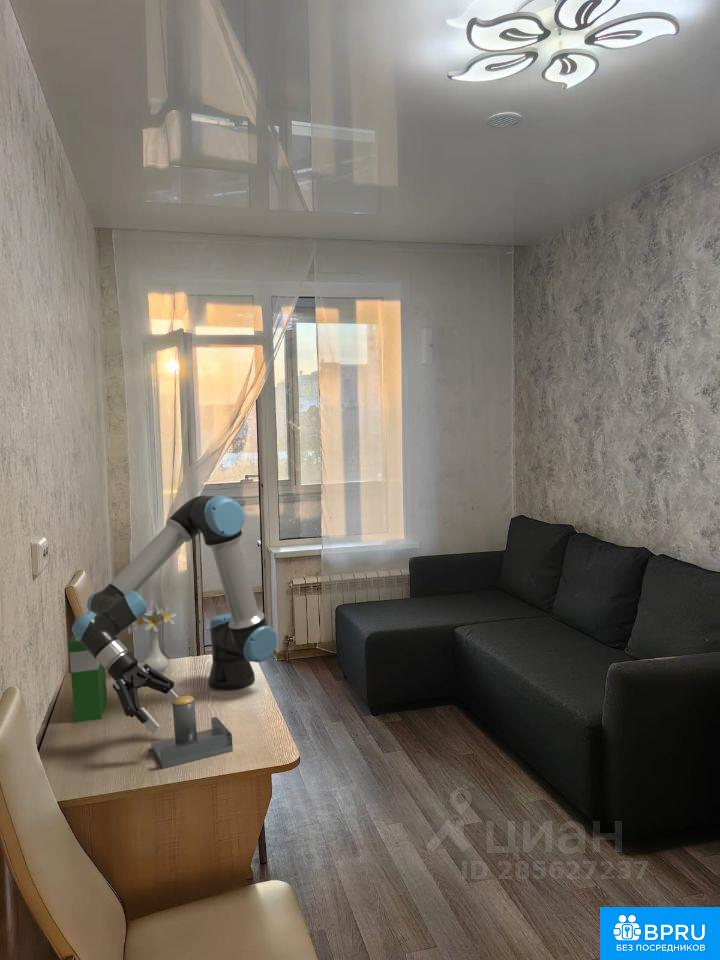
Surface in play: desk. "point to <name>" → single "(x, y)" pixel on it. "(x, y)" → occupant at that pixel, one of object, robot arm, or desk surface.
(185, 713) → the grey cylinder orange top
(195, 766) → the desk surface
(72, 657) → the hardback book
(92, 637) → the robot arm
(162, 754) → the plate
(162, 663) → the flower vase
